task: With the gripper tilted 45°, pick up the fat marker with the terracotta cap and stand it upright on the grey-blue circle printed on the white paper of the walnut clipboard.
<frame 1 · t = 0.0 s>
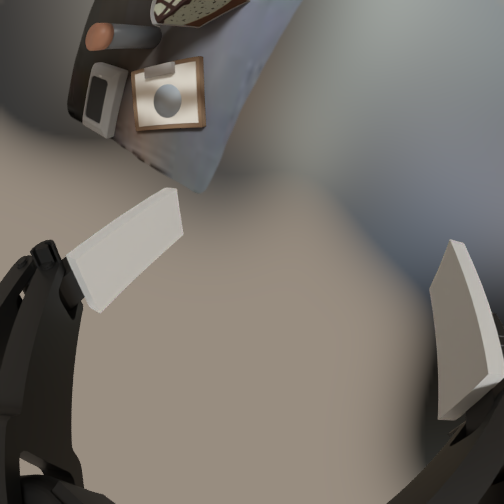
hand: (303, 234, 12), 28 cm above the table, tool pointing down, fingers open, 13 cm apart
grey framed panel: (108, 98, 44), on the table
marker: (152, 37, 33), on the table
food container: (217, 1, 27), on the table
clipboard: (167, 95, 39), on the table
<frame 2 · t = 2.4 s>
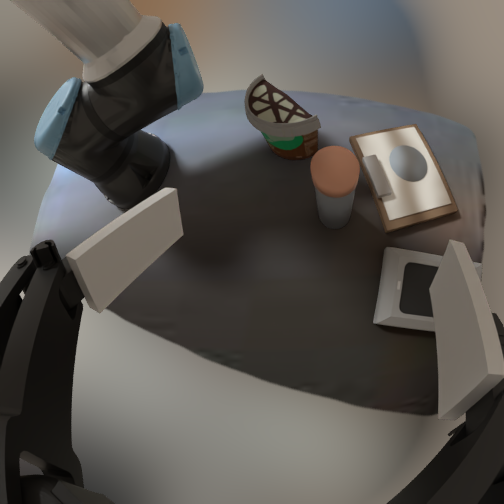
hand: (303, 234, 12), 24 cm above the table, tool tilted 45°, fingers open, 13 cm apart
grey framed panel: (428, 294, 30), on the table
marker: (334, 213, 35), on the table
food container: (283, 145, 40), on the table
clipboard: (403, 174, 33), on the table
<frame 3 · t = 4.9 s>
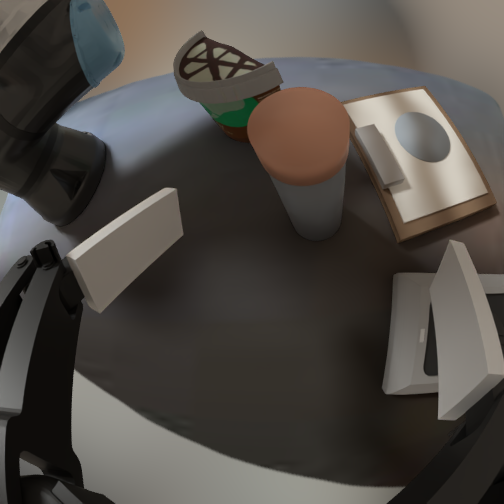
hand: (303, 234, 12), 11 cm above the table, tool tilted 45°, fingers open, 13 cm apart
grey framed panel: (461, 330, 18), on the table
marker: (316, 216, 23), on the table
food container: (240, 125, 28), on the table
clipboard: (417, 153, 21), on the table
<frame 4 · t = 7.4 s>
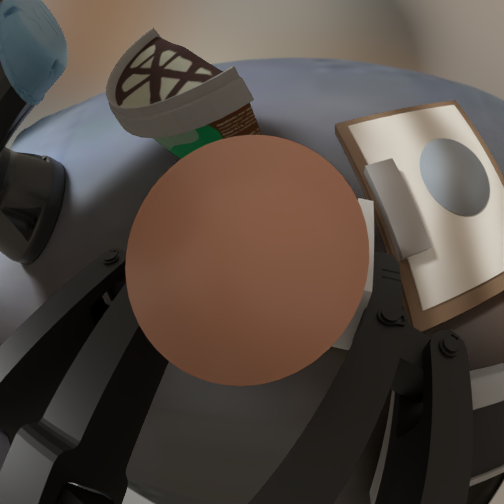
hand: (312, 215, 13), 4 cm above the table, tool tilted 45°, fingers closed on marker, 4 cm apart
grey framed panel: (469, 424, 11), on the table
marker: (302, 294, 17), on the table, touching gripper
food container: (209, 153, 21), on the table
clipboard: (446, 198, 15), on the table
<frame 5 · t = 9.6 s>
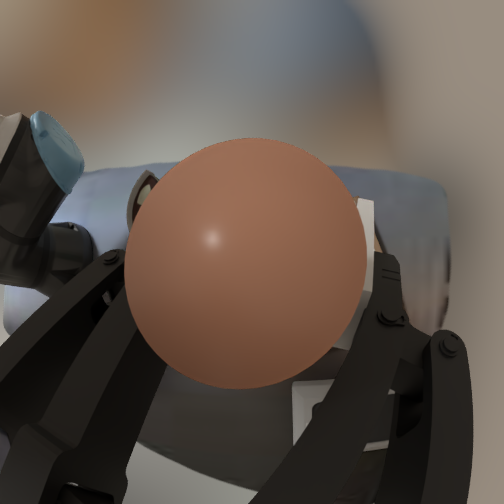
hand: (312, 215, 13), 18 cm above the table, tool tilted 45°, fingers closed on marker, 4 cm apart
grey framed panel: (356, 410, 26), on the table
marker: (302, 295, 17), point 14 cm above the table, touching gripper
food container: (192, 242, 36), on the table
when the fingers open (7 cm above the table, at t = 12.2 s): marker drops 1 cm, resting on clipboard.
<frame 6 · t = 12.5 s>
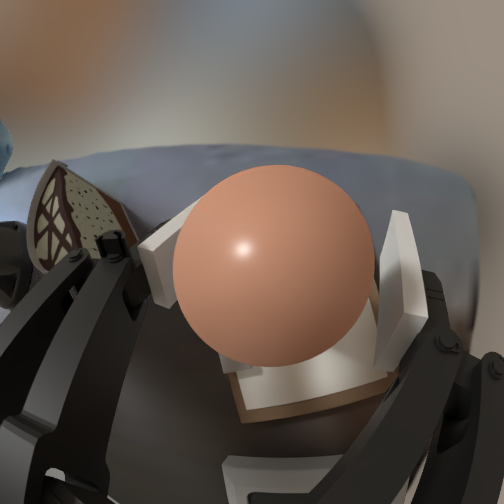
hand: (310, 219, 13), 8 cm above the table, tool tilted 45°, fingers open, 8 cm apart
grey framed panel: (318, 491, 16), on the table
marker: (304, 296, 18), point 2 cm above the table, touching clipboard
food container: (118, 252, 26), on the table
clipboard: (297, 313, 19), on the table
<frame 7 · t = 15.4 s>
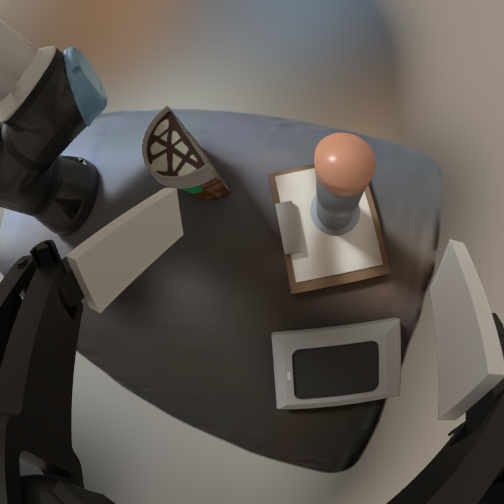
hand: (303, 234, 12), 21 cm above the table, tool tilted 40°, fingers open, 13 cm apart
grey framed panel: (337, 362, 30), on the table
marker: (334, 210, 30), point 2 cm above the table, touching clipboard
food container: (197, 181, 37), on the table
clipboard: (328, 223, 32), on the table
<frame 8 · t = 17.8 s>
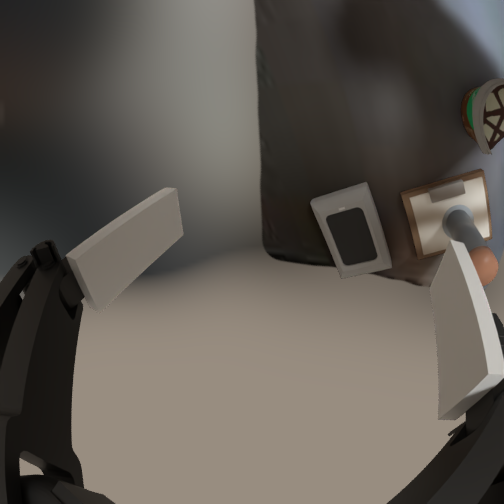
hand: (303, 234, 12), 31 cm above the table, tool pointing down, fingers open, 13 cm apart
grey framed panel: (354, 229, 43), on the table
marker: (458, 222, 33), point 2 cm above the table, touching clipboard
food container: (474, 102, 23), on the table
clipboard: (450, 214, 34), on the table
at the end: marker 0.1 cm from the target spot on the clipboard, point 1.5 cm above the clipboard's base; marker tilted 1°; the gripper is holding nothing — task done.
